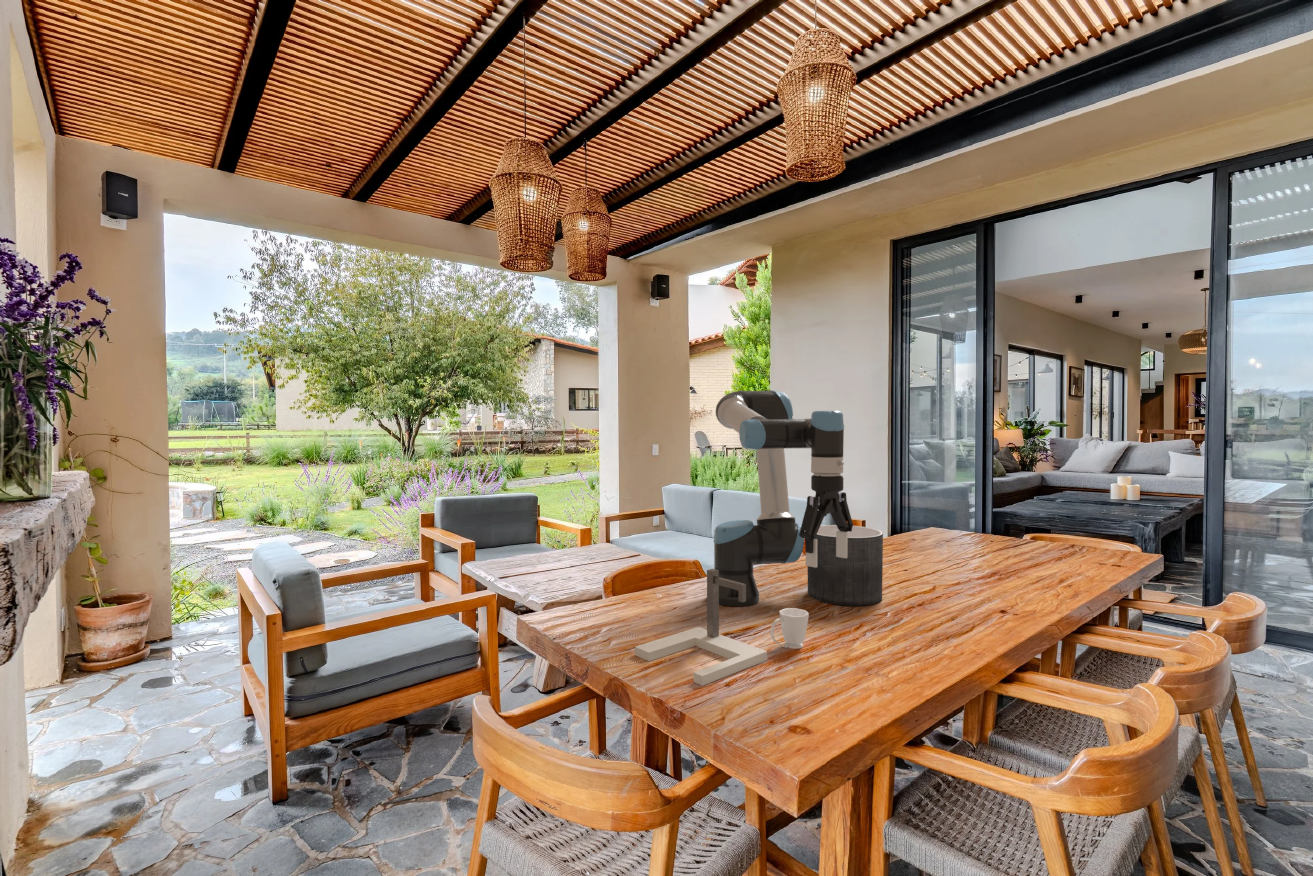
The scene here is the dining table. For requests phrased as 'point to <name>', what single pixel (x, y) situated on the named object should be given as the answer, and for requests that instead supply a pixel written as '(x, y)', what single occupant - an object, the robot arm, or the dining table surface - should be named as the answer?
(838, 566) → the planter
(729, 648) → the flat u-shaped bracket
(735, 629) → the dining table surface
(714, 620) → the hook arm
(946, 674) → the dining table surface
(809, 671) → the dining table surface
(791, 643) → the cup
